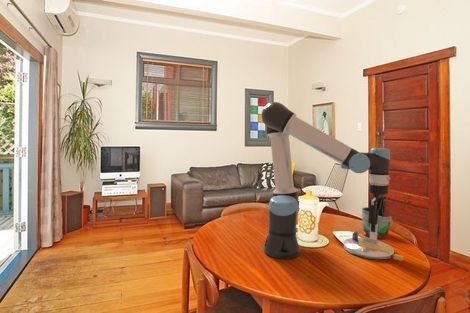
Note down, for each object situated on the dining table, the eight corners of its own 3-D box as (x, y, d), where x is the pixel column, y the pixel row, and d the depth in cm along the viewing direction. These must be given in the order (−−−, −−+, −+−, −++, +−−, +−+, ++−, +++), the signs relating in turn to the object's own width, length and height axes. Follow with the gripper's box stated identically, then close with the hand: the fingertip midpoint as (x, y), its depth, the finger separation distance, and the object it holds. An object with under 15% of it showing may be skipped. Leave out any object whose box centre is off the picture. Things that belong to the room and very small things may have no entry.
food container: (359, 237, 124) (360, 214, 124) (360, 233, 130) (361, 211, 129) (392, 242, 119) (393, 218, 118) (391, 238, 124) (392, 215, 124)
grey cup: (377, 229, 160) (378, 207, 159) (384, 235, 150) (386, 212, 149) (358, 228, 161) (359, 206, 160) (364, 233, 151) (365, 211, 150)
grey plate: (340, 240, 139) (340, 229, 139) (385, 244, 135) (385, 232, 135) (348, 256, 120) (349, 243, 119) (400, 261, 116) (401, 248, 115)
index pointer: (393, 258, 119) (393, 255, 119) (394, 257, 121) (395, 253, 121) (401, 260, 117) (401, 257, 117) (402, 259, 119) (403, 256, 119)
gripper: (380, 187, 114) (377, 244, 115) (395, 183, 128) (392, 234, 129) (361, 185, 119) (358, 240, 121) (377, 181, 133) (374, 230, 134)
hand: (376, 237), depth 125 cm, fingers closed on food container, 6 cm apart
